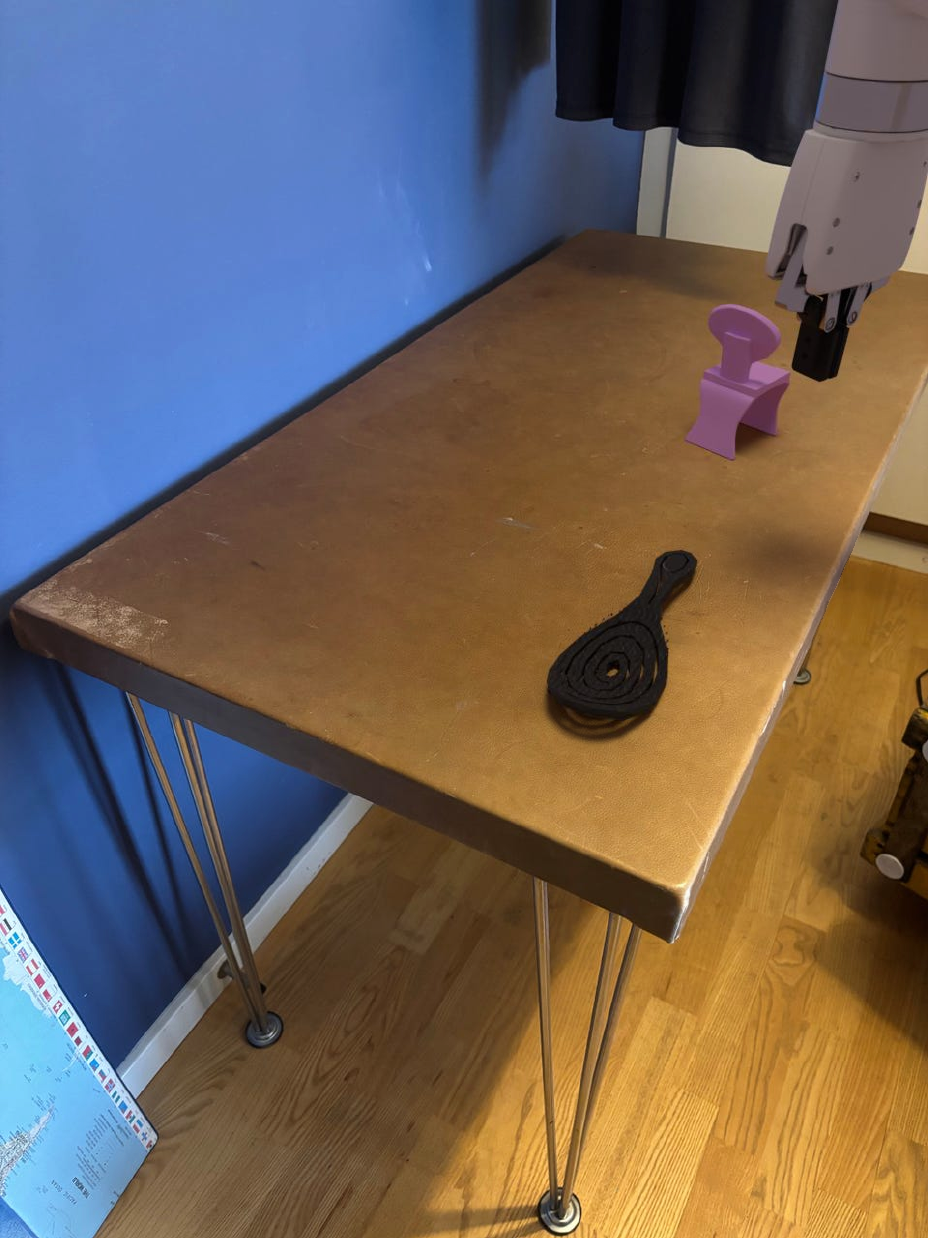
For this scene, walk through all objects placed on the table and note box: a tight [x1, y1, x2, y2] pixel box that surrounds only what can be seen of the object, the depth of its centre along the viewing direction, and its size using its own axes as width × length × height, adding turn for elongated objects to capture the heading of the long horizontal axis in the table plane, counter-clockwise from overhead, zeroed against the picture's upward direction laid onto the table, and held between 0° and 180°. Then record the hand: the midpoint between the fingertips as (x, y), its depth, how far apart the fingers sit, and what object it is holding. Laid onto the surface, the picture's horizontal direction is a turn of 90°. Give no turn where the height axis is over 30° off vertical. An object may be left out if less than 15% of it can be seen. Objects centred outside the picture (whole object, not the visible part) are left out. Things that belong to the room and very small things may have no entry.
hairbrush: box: [546, 549, 699, 721], centre depth 73 cm, size 8×4×25 cm
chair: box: [684, 303, 792, 461], centre depth 95 cm, size 8×9×15 cm
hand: (813, 373), depth 71 cm, fingers closed
